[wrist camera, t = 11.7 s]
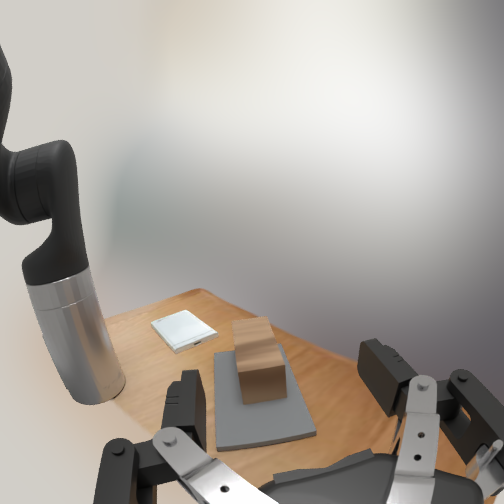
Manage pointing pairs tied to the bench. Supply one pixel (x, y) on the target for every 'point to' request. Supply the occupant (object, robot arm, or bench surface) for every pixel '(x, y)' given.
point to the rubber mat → (256, 410)
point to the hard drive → (183, 331)
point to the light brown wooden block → (258, 361)
